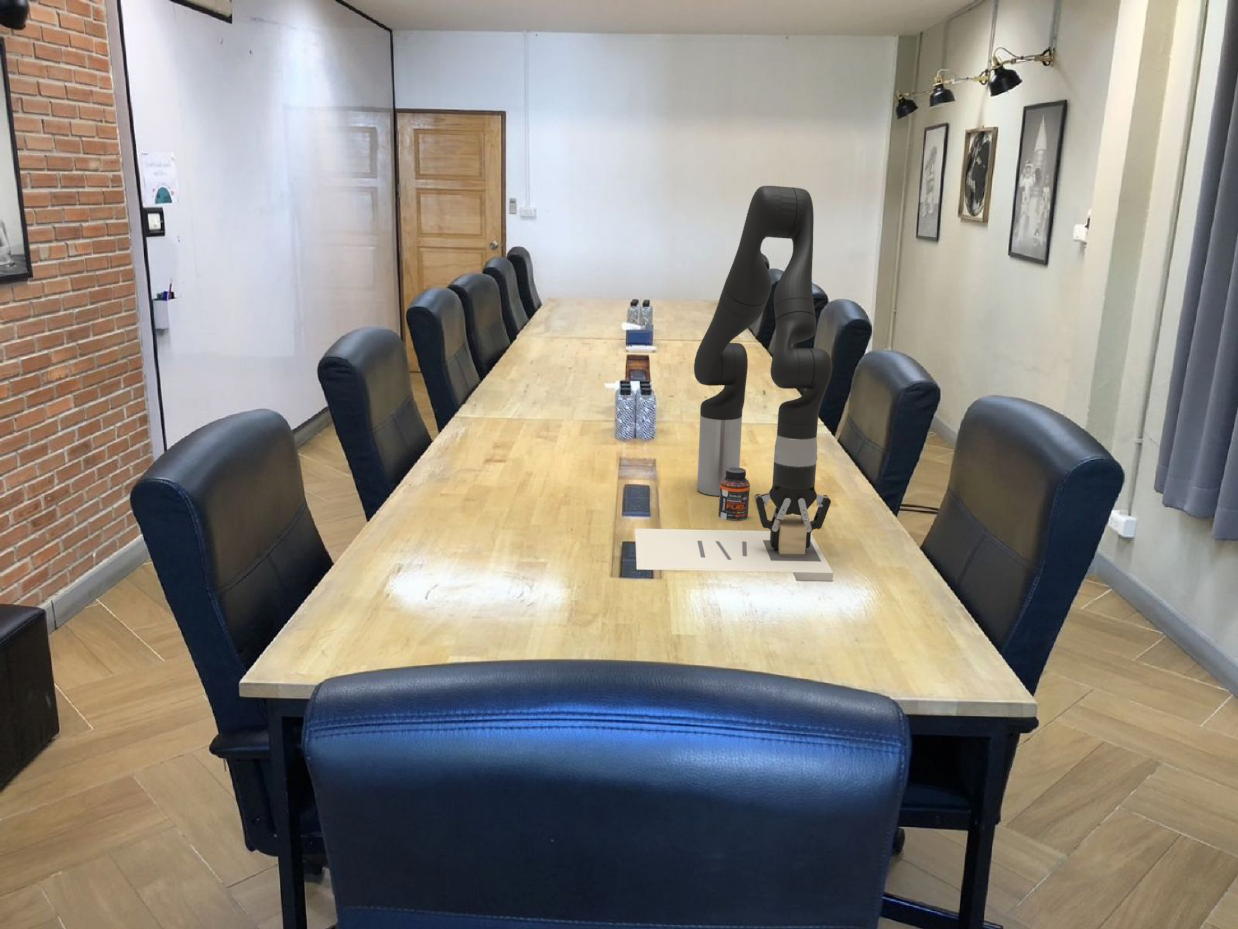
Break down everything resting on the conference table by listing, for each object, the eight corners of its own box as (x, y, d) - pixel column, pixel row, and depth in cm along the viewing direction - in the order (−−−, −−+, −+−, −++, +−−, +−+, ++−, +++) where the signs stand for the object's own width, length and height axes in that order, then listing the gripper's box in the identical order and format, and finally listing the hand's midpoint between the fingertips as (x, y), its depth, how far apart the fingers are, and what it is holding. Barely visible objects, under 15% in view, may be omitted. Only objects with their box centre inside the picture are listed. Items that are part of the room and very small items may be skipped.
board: (634, 535, 198) (635, 528, 197) (809, 539, 198) (810, 531, 197) (636, 577, 176) (636, 569, 176) (832, 581, 177) (833, 572, 176)
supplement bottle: (724, 528, 203) (727, 474, 200) (713, 519, 208) (716, 466, 205) (752, 526, 204) (755, 472, 201) (741, 517, 210) (743, 464, 207)
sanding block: (774, 543, 190) (776, 515, 189) (798, 544, 190) (800, 516, 189) (779, 556, 183) (781, 527, 182) (804, 557, 183) (806, 528, 182)
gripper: (831, 454, 186) (824, 543, 190) (752, 453, 186) (747, 542, 190) (839, 465, 179) (832, 557, 183) (757, 464, 179) (752, 556, 183)
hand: (789, 549), depth 187 cm, fingers closed on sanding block, 4 cm apart
